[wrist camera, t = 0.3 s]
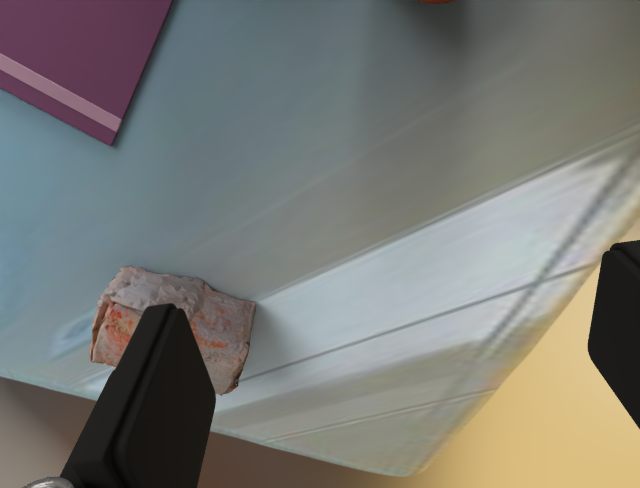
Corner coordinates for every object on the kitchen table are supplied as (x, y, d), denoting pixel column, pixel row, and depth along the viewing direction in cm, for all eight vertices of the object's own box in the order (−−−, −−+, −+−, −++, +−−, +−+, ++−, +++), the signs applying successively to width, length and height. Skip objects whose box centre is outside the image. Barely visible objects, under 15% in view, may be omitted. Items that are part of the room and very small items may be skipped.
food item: (113, 312, 48) (70, 386, 40) (125, 248, 45) (80, 315, 36) (243, 346, 51) (229, 423, 42) (265, 289, 47) (254, 360, 39)
